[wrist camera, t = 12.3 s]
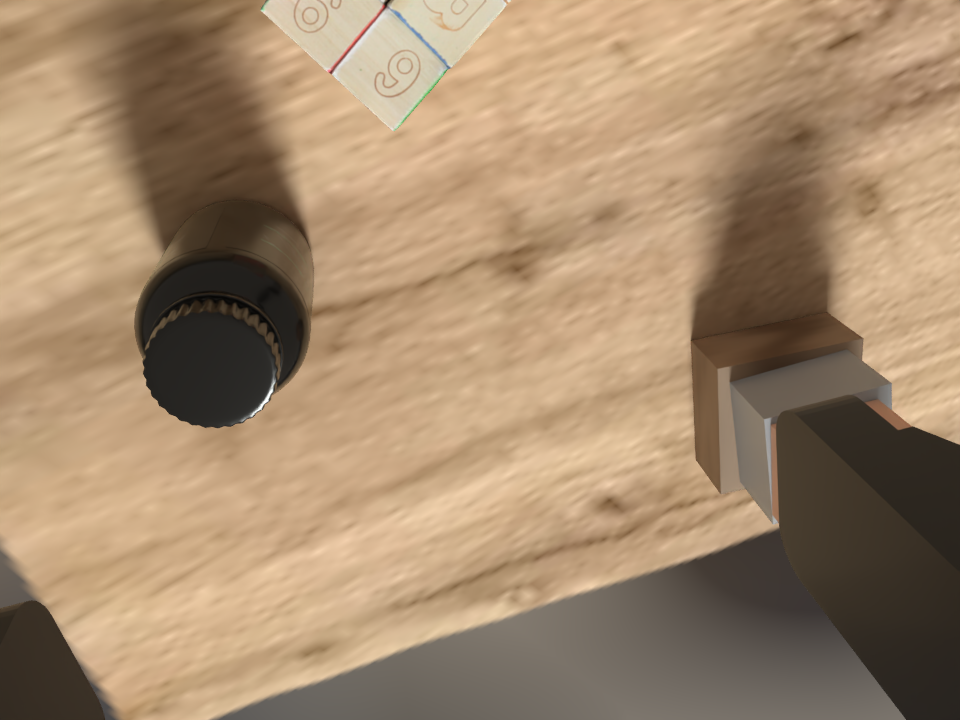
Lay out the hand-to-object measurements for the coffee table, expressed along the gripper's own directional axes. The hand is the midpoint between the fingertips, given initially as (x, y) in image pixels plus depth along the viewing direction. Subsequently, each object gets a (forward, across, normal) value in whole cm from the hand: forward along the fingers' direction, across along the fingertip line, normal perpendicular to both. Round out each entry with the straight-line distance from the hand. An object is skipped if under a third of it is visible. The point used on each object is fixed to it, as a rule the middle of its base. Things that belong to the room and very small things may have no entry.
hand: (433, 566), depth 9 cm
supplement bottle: (+34, +7, +6) cm, 35 cm away
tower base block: (+34, -19, +20) cm, 43 cm away
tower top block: (+30, -19, +20) cm, 41 cm away
